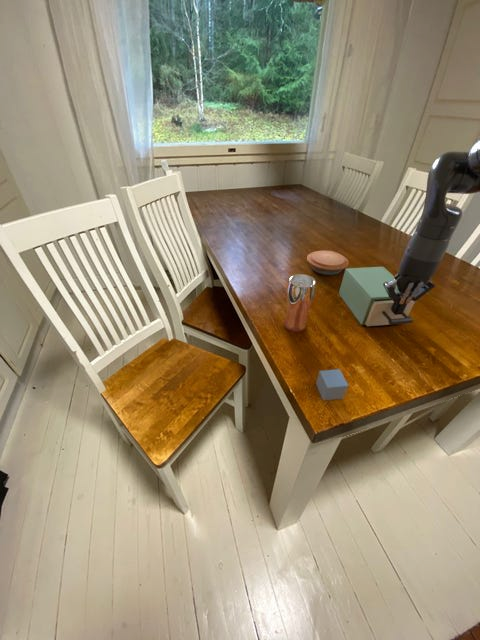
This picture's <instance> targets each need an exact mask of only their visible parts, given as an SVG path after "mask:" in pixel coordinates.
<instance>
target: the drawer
mask: <svg viewBox="0 0 480 640" xmlns="http://www.w3.org/2000/svg"><path fill="white" fill-rule="evenodd" d="M393 303H394V302H393V300H392V299H381V300H373V302H372V305H371V307H370V310H369V313H368V315H367V318H366V323H365V324H366V325H365V326H366V327H374V326H375V327H376V326H389V325H401V324H403V325H404V324H412V323H413V322H414V318H413V317H409V315H410V313H411V311H412V309H413V307H414V305H415V303H416V301H410V303H408V304H407V306H406V308H405V310H404V311H403V312H402V314H401V315H395V314H394V313H393V312H392V310H391V308H392V306H393Z"/></svg>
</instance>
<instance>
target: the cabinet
mask: <svg viewBox="0 0 480 640" xmlns="http://www.w3.org/2000/svg"><path fill="white" fill-rule="evenodd" d="M394 278H395V275H393V274H392V273H391V272H390V271H389V270H388V269H386V268H385V267H384V266H368V267H349V268H345V270H344V273H343V276H342V281H341V284H340V288H339V291H338V295H339V296H340V298H341V299H342V301H343V302H344V303H345V305H346V306H347V307H348V309H349V310H350V312H351V313H352V315H354V317H355V318H356V320H357V321H358V322H359V324H360V325H361V326H366V324H365V323H366V318H367V315H368V313H369V310H370V307H371V305H372V302H373V300H381V299H391V298H390V297H389V296H388V294H387V292H386V290H385V288H384V286H383V284H384V282H388V283H389V282H391V281H393V280H394ZM396 288H397V286H396ZM395 293H396V290H395ZM400 297H401V296H400Z"/></svg>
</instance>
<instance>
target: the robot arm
mask: <svg viewBox="0 0 480 640" xmlns="http://www.w3.org/2000/svg"><path fill="white" fill-rule="evenodd" d="M428 171H429V172H428V174H427V180H426V188H425V189H426V191H425V198H424V202H423V209H422V213H421V216H420V218H419V220H418V223H417V224H416V227H415V230H414V232H413V234H412V235H411V237H410V239H409V240H408V243H407V246H406V249H405V251H404V253H403V256H402V258H401V260H400V263H399V266H398V272H397V273H396V274H395V275H394V277H395V278H394V280H393V281H391V282H389V283H388V282H384V284H383V286H384V288H385V290H386V292H387V294H388V296H389V297H390V298H391V299H392V300H393V302H394V303H393V306H392V308H391V310H392V312H393V313H394V314H395V315H401V314H402V312H403V311H404V310H405V308H406V306H407V304H408V303H410V301H415V302H417V301H418V300H419V299H421V298H422V297H423V296H425V295H426V294H427V293H428V292H430V291H431V290H432V289H434V288H436V287H435V286H436V284H435V283H434V282H432V281H431V277H433V276H434V275H435V273H436V271H437V269H438V268H439V265H440V264H441V262H442V259H443V258H444V255H445V254H446V252H447V251H448V247H449V245H450V241H451V239H452V237H453V235H454V233H455V231H456V229H457V227H458V226H459V224H460V222H461V220H462V218H463V209H462V208H460V207H459V206H457V205H454V204H451V203H446V197H447V194H458V195H459V194H460V195H471V194H476V193H480V138H478V139H477V140H476V141H475V142H474V143H473V145H472V146H471V147H470V149H469V151H447V152H444V153H442V154H441V155H440V156H439V157H437V158H436V159H435V160H434V162H433V163H432V165H431V166H430V168H429V170H428ZM396 286H397V288H396ZM395 290H396V293H395ZM400 296H401V297H400Z"/></svg>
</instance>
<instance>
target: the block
mask: <svg viewBox="0 0 480 640" xmlns="http://www.w3.org/2000/svg"><path fill="white" fill-rule="evenodd" d="M315 385H316V387H317V390H318V392H319V395H320V397H321V399H322V401H323V402H324V401H335V400H342V399H344V397H345V395H346V392H347V390H348V387H349V384H348V382H347V380H346V378H345V377H344V375H343V373H342V371H341V369H340V368H335V369H325V370H324V369H323V370H319V372H318V376H317V379H316V382H315Z"/></svg>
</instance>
